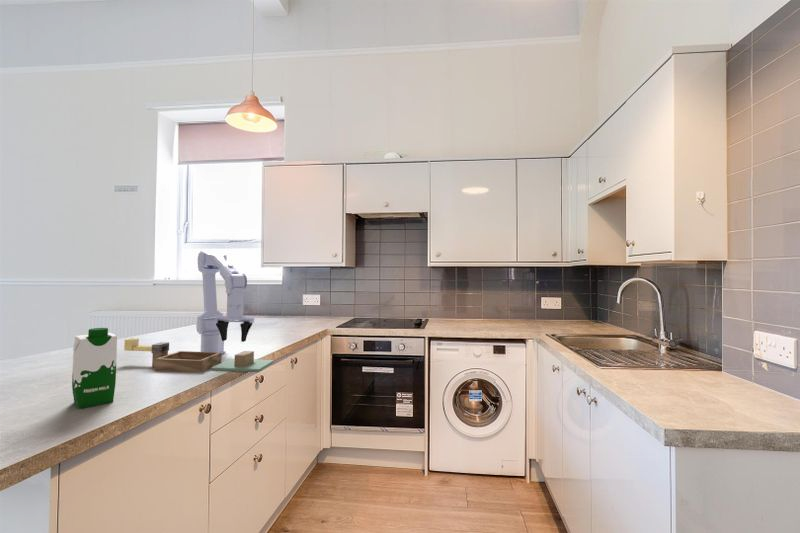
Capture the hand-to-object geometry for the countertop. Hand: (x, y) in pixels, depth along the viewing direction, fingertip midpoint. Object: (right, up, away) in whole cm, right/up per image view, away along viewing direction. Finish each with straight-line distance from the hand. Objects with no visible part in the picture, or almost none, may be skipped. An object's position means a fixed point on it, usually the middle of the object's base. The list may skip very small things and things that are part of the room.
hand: (233, 340), depth 137 cm
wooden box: (-17, -9, -3) cm, 20 cm away
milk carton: (-19, -8, -40) cm, 45 cm away
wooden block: (-33, -3, -2) cm, 33 cm away
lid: (+5, -9, -1) cm, 10 cm away
